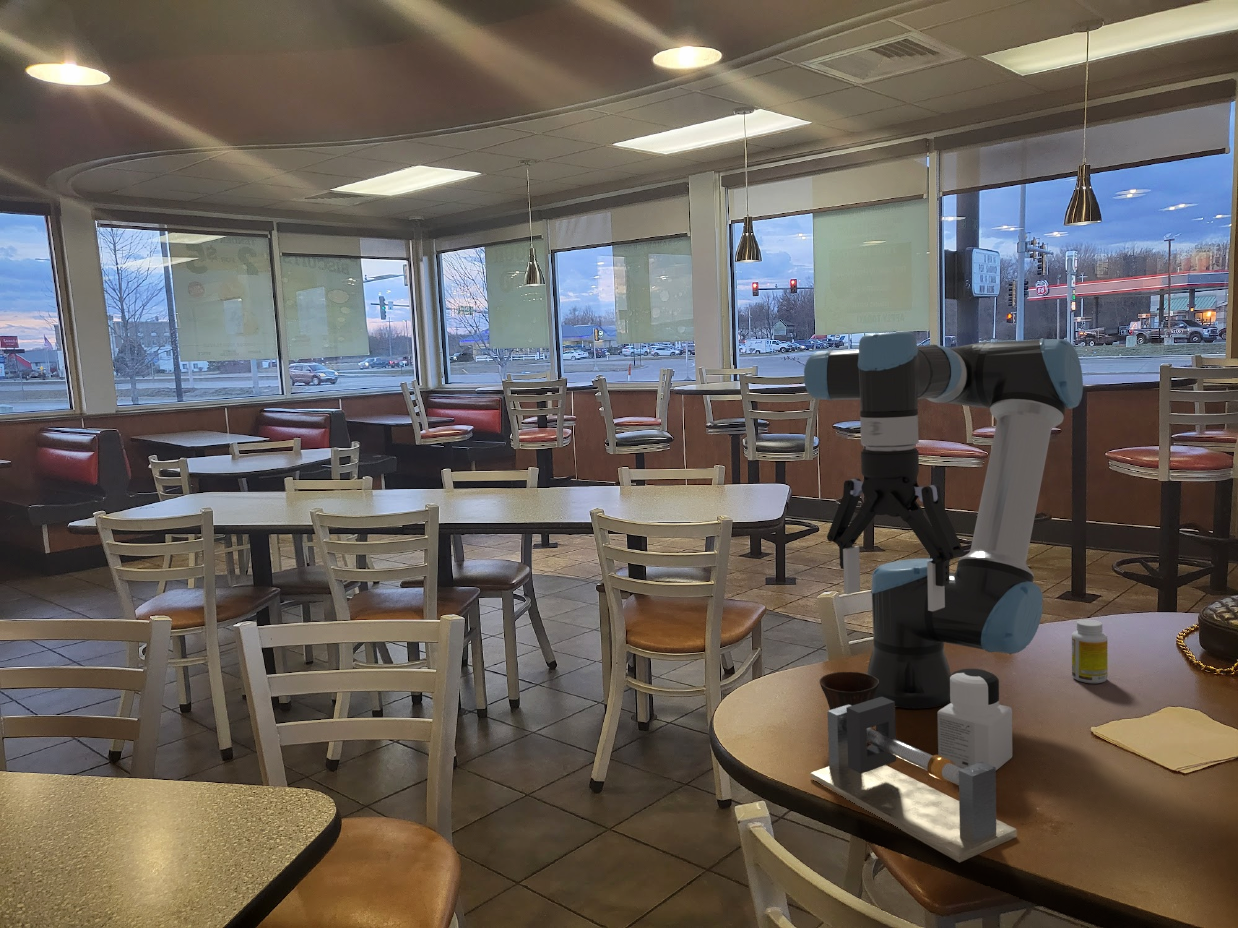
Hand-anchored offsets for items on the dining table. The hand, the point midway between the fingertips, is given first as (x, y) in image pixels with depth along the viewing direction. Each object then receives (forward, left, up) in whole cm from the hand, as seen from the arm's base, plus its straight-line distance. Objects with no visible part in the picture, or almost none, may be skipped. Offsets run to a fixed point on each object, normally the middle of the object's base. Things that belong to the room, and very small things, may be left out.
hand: (892, 600), depth 126 cm
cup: (-13, +3, -26) cm, 29 cm away
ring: (+1, -6, -22) cm, 23 cm away
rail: (+7, -6, -25) cm, 27 cm away
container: (+3, +12, -26) cm, 28 cm away
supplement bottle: (-7, +53, -26) cm, 59 cm away
